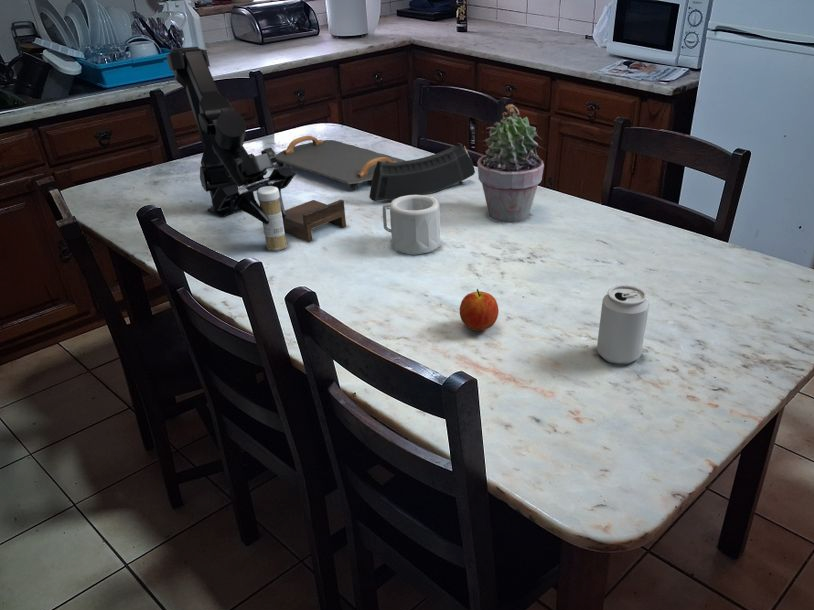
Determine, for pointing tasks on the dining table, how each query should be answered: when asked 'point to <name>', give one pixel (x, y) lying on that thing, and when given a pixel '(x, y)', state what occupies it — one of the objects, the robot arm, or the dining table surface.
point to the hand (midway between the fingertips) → (276, 220)
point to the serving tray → (333, 160)
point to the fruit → (479, 310)
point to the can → (622, 324)
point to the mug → (414, 224)
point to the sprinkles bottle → (272, 218)
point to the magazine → (421, 174)
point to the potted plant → (510, 168)
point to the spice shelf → (313, 218)
